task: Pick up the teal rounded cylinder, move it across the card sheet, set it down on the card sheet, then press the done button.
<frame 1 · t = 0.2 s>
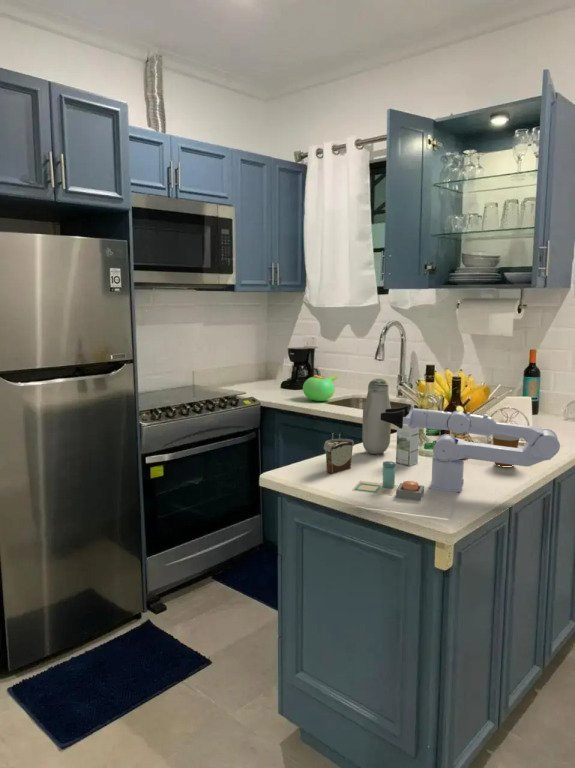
hand: (383, 414, 187), 21 cm above the counter, tool horizontal, fingers open, 7 cm apart
disposable coffee cup: (504, 465, 208), on the counter
card sheet: (375, 488, 181), on the counter
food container: (334, 470, 200), on the counter
teal rounded cylinder: (388, 486, 182), resting on card sheet
grey bottle: (375, 453, 222), on the counter
syrup box: (406, 463, 209), on the counter
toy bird: (319, 401, 332), on the counter
button housing: (410, 496, 174), on the counter
done button: (410, 487, 174), point 3 cm above the counter, slide at 0.0 cm
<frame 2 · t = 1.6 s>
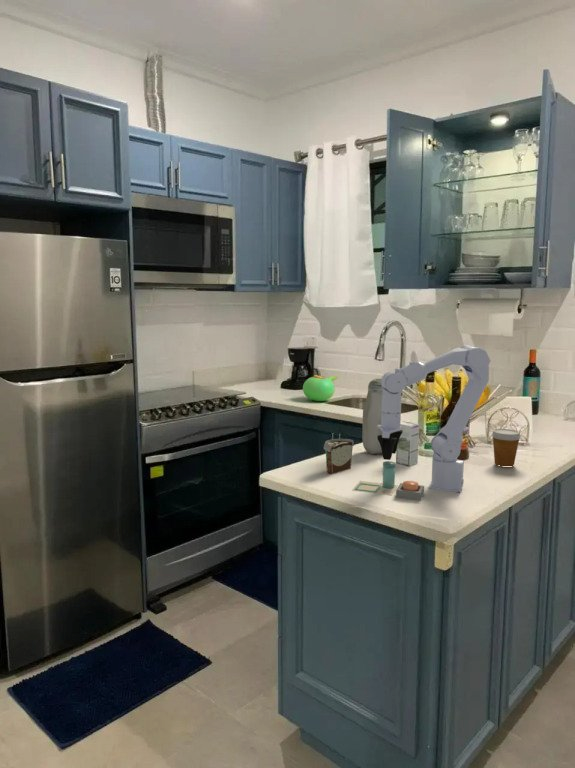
hand: (389, 456, 180), 10 cm above the counter, tool pointing down, fingers open, 7 cm apart
nothing on the counter moved.
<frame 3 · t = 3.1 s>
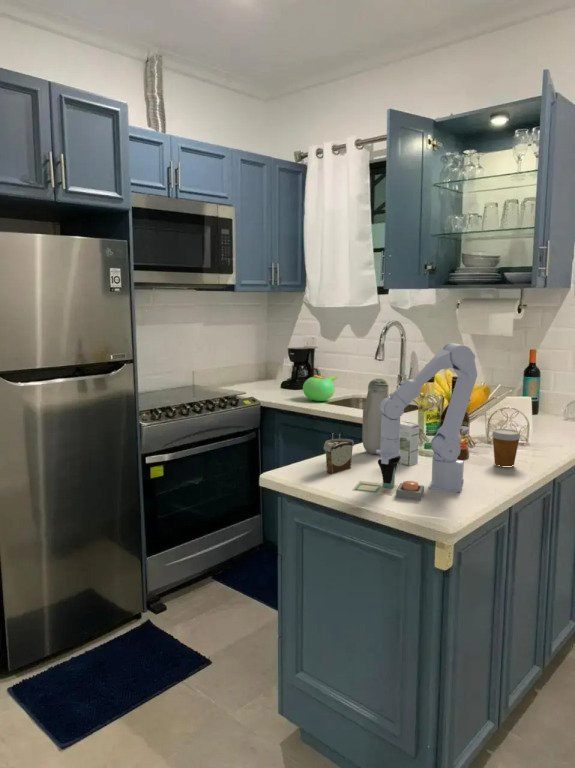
hand: (388, 481, 182), 2 cm above the counter, tool pointing down, fingers closed on teal rounded cylinder, 4 cm apart
teal rounded cylinder: (388, 486, 182), resting on card sheet, touching gripper
everything else where it was.
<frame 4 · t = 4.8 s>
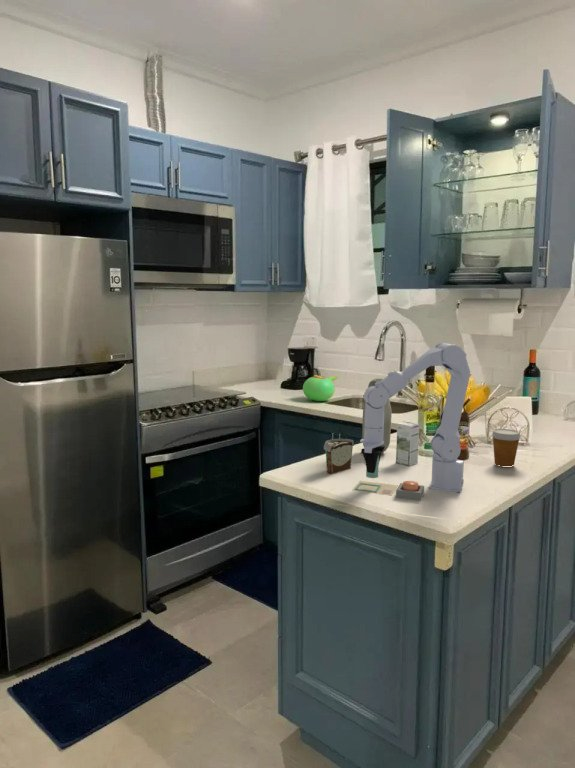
hand: (372, 470, 180), 6 cm above the counter, tool pointing down, fingers closed on teal rounded cylinder, 4 cm apart
teal rounded cylinder: (372, 476, 181), point 4 cm above the counter, touching gripper
everything else where it was.
when the fingers open (3 cm above the counter, at t = 6.6 s): teal rounded cylinder stays where it is, resting on card sheet.
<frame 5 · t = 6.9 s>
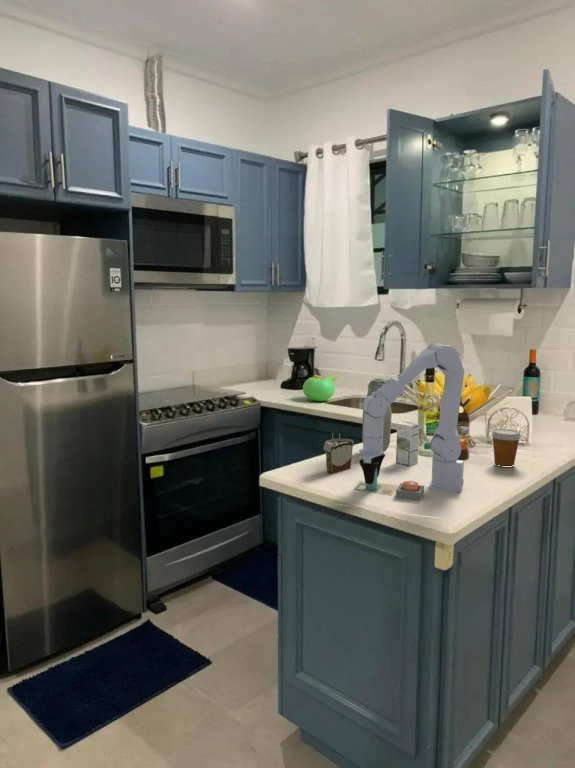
hand: (371, 480, 179), 3 cm above the counter, tool pointing down, fingers open, 6 cm apart
teal rounded cylinder: (371, 488, 180), resting on card sheet
everything else where it was.
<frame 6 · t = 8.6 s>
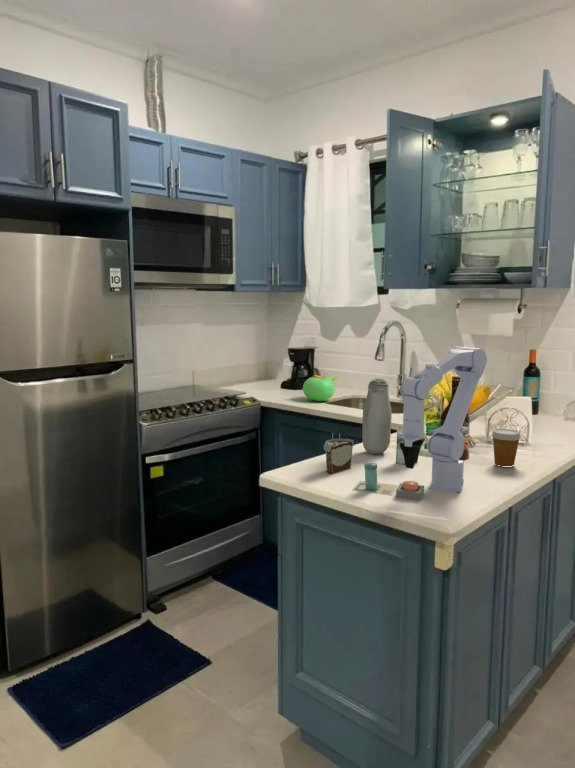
hand: (411, 465, 173), 9 cm above the counter, tool pointing down, fingers open, 5 cm apart
nothing on the counter moved.
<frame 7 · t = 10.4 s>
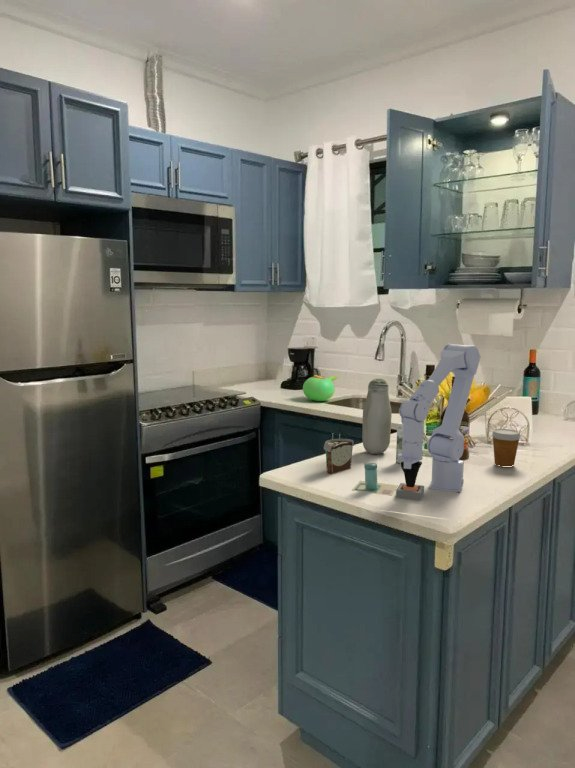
hand: (410, 486, 174), 3 cm above the counter, tool pointing down, fingers closed, pressing on done button
done button: (410, 490, 174), point 2 cm above the counter, slide at -0.9 cm, touching gripper
everything else where it was.
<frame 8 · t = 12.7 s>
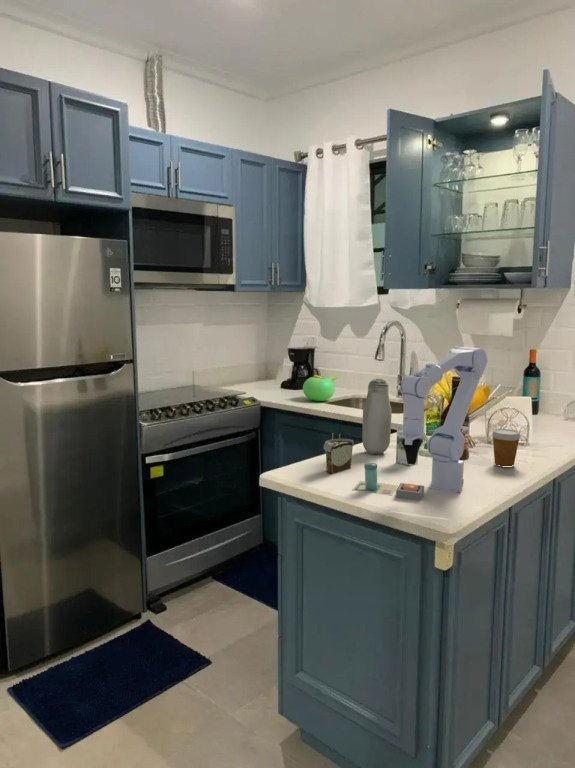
hand: (411, 463, 173), 10 cm above the counter, tool pointing down, fingers closed
done button: (410, 490, 174), point 2 cm above the counter, slide at -0.9 cm
everything else where it was.
at the end: teal rounded cylinder 1.3 cm from the target spot, resting on card sheet; teal rounded cylinder tilted 3°; done button slide at -0.9 cm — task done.
